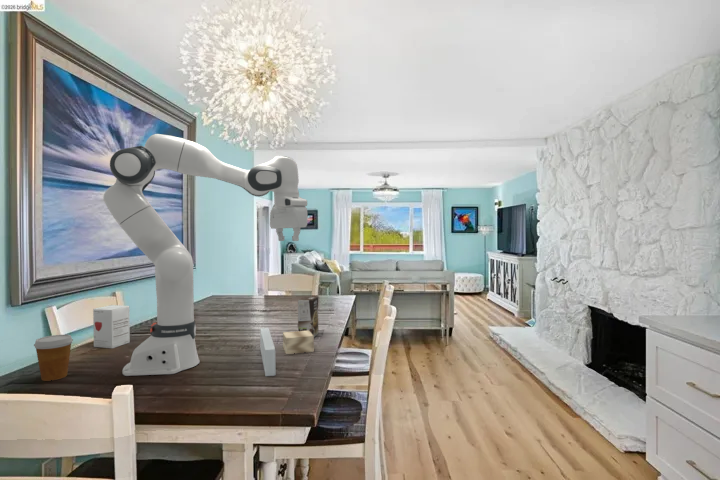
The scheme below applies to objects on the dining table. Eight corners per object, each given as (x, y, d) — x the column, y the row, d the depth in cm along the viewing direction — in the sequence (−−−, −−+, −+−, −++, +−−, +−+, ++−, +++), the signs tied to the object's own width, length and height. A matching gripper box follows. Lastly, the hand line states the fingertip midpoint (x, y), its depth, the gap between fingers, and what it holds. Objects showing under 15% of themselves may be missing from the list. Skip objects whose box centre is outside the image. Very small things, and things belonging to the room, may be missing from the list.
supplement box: (92, 347, 157) (92, 308, 156) (112, 341, 165) (111, 304, 165) (112, 348, 154) (111, 309, 154) (130, 342, 163) (130, 305, 163)
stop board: (265, 376, 123) (265, 350, 123) (260, 349, 152) (260, 328, 152) (275, 375, 124) (275, 349, 124) (268, 348, 153) (268, 327, 153)
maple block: (286, 354, 146) (286, 338, 146) (283, 348, 154) (283, 332, 154) (313, 352, 149) (313, 335, 149) (309, 345, 157) (309, 330, 157)
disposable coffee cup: (28, 384, 118) (27, 343, 118) (43, 373, 127) (42, 335, 127) (66, 381, 120) (65, 340, 120) (78, 370, 130) (77, 333, 129)
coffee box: (312, 339, 166) (312, 299, 166) (297, 338, 167) (297, 299, 167) (319, 333, 175) (318, 296, 175) (304, 333, 176) (304, 296, 176)
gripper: (264, 204, 151) (266, 241, 151) (294, 200, 136) (296, 241, 136) (279, 204, 155) (281, 240, 156) (310, 200, 140) (311, 240, 140)
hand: (288, 241), depth 146 cm, fingers open, 8 cm apart
